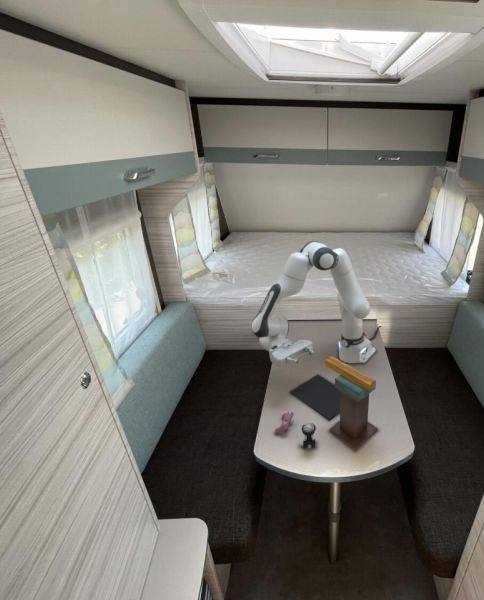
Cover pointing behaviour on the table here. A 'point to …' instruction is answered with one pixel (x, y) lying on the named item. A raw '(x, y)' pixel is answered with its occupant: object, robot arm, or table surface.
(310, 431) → the black silver upright piece
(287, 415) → the pink irregular piece
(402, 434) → the table surface
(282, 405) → the table surface
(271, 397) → the table surface
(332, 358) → the ochre bar
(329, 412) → the mat
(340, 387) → the stand
